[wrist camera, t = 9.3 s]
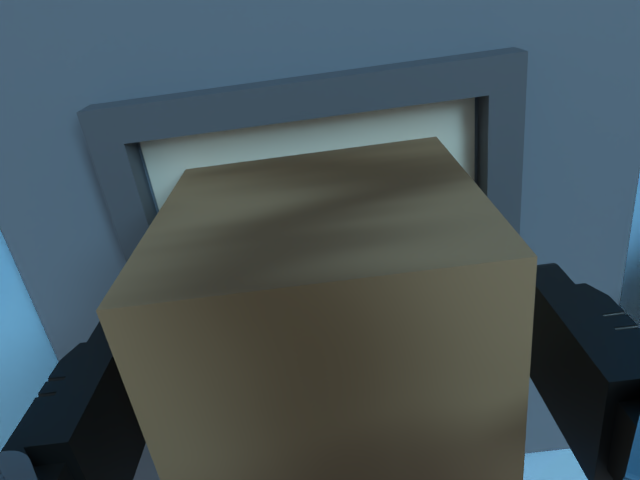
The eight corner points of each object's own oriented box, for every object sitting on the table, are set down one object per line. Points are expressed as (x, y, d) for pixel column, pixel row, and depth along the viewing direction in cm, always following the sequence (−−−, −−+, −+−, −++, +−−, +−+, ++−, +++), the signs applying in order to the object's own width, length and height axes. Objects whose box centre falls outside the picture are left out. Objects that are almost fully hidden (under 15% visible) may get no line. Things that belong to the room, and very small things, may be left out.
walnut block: (436, 136, 12) (537, 255, 7) (442, 341, 15) (519, 542, 10) (185, 169, 13) (95, 311, 7) (235, 365, 15) (196, 576, 10)
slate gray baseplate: (651, -139, 11) (717, -162, 9) (580, 417, 18) (610, 465, 16) (-77, -32, 12) (-146, -34, 10) (129, 468, 19) (110, 519, 17)
